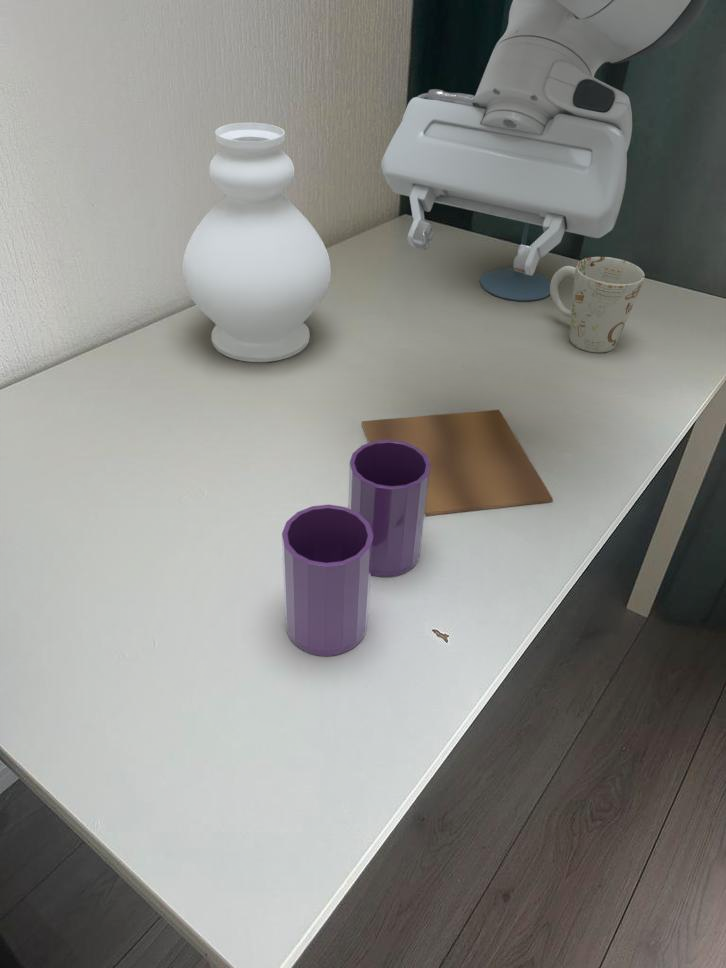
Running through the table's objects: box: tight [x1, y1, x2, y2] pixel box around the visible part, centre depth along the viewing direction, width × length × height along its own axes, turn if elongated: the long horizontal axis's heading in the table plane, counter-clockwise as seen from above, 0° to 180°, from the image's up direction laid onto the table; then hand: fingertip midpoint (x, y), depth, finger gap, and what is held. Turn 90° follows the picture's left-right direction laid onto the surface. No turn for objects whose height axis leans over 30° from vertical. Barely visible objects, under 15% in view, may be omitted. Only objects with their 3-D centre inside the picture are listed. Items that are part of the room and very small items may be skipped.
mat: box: [361, 409, 554, 517], centre depth 81 cm, size 16×16×1 cm
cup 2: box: [347, 440, 431, 578], centre depth 67 cm, size 7×7×10 cm
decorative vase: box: [182, 121, 332, 363], centre depth 92 cm, size 18×18×25 cm
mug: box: [550, 256, 645, 353], centre depth 100 cm, size 8×13×10 cm, turn 41°
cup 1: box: [281, 504, 373, 657], centre depth 60 cm, size 7×7×10 cm
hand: (468, 257), depth 64 cm, fingers open, 8 cm apart
